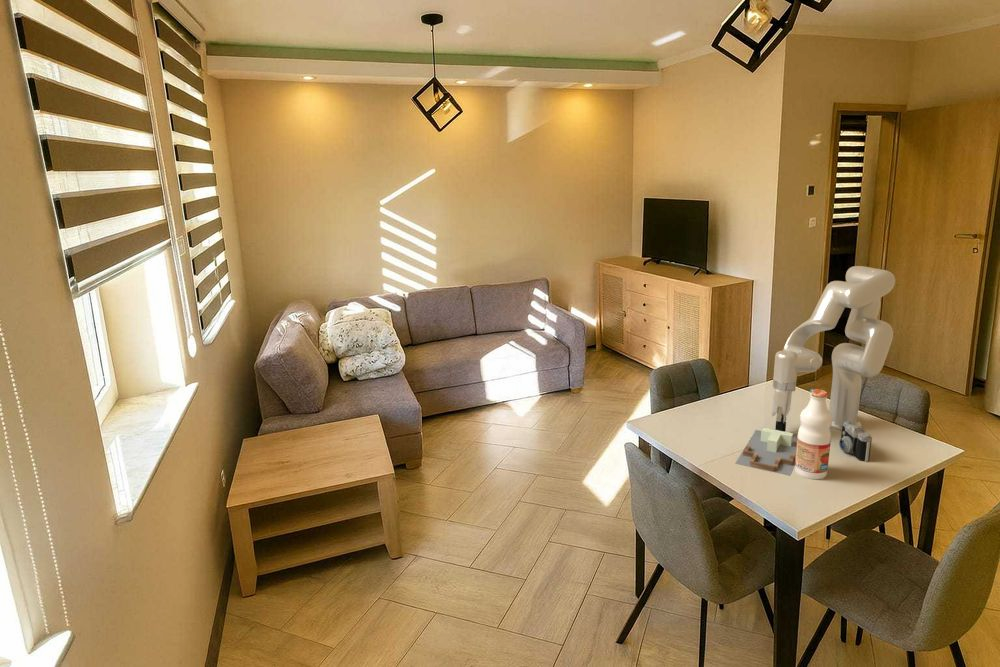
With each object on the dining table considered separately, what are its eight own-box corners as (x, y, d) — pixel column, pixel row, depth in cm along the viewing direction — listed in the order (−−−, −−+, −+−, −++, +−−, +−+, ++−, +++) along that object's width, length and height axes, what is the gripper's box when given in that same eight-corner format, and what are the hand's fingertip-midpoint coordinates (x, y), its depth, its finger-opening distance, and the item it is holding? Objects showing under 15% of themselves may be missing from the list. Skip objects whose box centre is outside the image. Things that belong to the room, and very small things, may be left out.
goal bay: (747, 448, 214) (747, 444, 213) (794, 458, 205) (795, 454, 205) (737, 463, 203) (738, 459, 203) (787, 474, 195) (788, 470, 194)
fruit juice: (793, 464, 202) (800, 385, 194) (825, 468, 198) (833, 387, 191) (795, 477, 193) (803, 395, 186) (828, 482, 190) (837, 398, 182)
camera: (829, 443, 216) (832, 416, 213) (849, 442, 215) (852, 416, 213) (850, 462, 201) (854, 434, 199) (871, 462, 201) (875, 434, 198)
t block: (762, 437, 221) (763, 427, 220) (792, 443, 216) (793, 433, 215) (756, 448, 213) (756, 437, 212) (787, 454, 208) (787, 444, 207)
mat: (755, 430, 228) (755, 429, 228) (805, 439, 219) (805, 439, 219) (735, 464, 204) (735, 463, 203) (790, 476, 194) (790, 475, 194)
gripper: (777, 377, 226) (773, 422, 231) (768, 389, 214) (765, 437, 219) (799, 380, 222) (795, 426, 227) (791, 393, 210) (787, 441, 215)
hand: (780, 431), depth 223 cm, fingers closed
